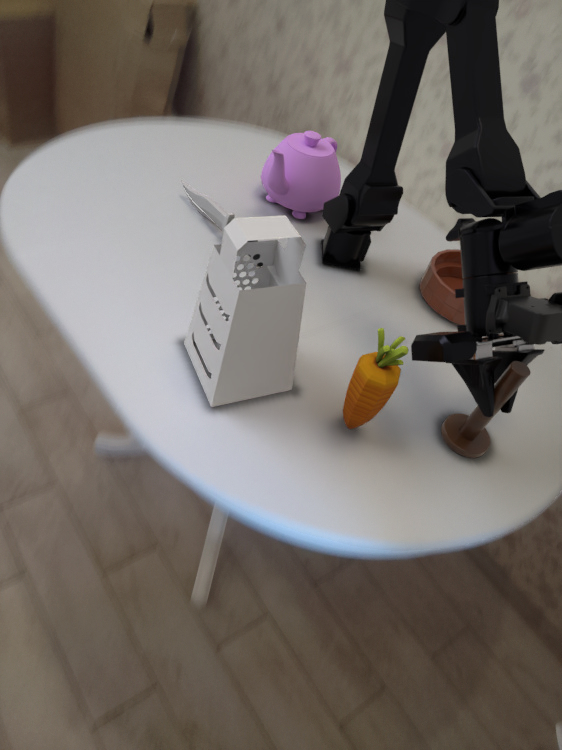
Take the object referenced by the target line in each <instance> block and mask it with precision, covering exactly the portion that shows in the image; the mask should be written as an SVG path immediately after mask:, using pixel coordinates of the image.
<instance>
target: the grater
mask: <svg viewBox="0 0 562 750" xmlns="http://www.w3.org/2000/svg"><path fill="white" fill-rule="evenodd" d="M278 239H286V243H285V246H284V247H283V246H282V244H281V243H280V241H279V240H278ZM253 240H258V241H256V242H247V241H253ZM306 248H307V243H306V242H305V241H304V238H303V237H302V236H301V235H300V233H299V232H298V230H297V229H296V228H295V226H294V225H293V223H292V222H291V220H290V219H289V218H288V217H287V215H268V216H251V217H248V216H247V217H235V218H234V219H233V220H232V221H231V222H230V223H229V224H227V225H226V226H225V227H224V231H223V234H222V238H221V243H219V244H213V246H212V248H211V249H212V250H211V253H210V255H209V259H208V262H207V266H206V268H205V269H206V270H205V273H204V276H203V279H202V283H201V284H200V285H201V286H200V290H199V292H198V295H197V299H196V302H195V306H194V308H193V312H192V316H191V319H190V321H189V325H188V329H187V332H186V335H185V338H184V341H183V344H184V347H185V349H186V351H187V354H188V356H189V358H190V361H191V363H192V366H193V368H194V371H195V372H196V375H197V378H198V379H199V382H200V384H201V387H202V390H203V392H204V395H205V396H206V398H207V401H208V403H209V406H210V407H211V408H214V407H218V406H219V407H220V406H223V405H228V404H233V403H238V402H242V401H247V400H251V399H256V398H260V397H265V396H270V395H274V394H280V393H284V392H288V391H292V390H293V384H294V377H295V370H296V363H297V356H298V355H297V354H298V347H299V340H300V334H301V326H302V318H303V312H304V303H305V296H306V289H307V281H306V280H305V278H304V277H303V275H302V273H301V272H300V270H301V266H302V262H303V260H304V259H303V258H304V255H305V252H306ZM256 254H259V255H260V258H259V259H258V260H254V259H253V256H254V255H256ZM249 255H250V256H251V257H250V256H249ZM246 256H249V257H250V258H249V259H248V260H245V259H244V258H245V257H246ZM237 257H240V259H239V260H238V261H237ZM260 262H262V263H263V266H262V267H258V266H257V264H258V263H260ZM250 264H253V266H252V267H251V268H248V265H250ZM240 265H243V268H242V269H238V267H239V266H240ZM252 272H255V273H254V274H253V275H249V274H250V273H252ZM242 273H245V275H244V276H240V274H242ZM234 274H236V276H234ZM254 279H257V280H258V281H257V282H255V283H253V282H252V281H253V280H254ZM246 280H248V281H249V282H248V283H246V284H244V281H246ZM236 281H239V284H237V283H236ZM247 287H250V288H249V289H246V288H247ZM240 288H241V290H240ZM214 298H216V299H217V301H216V300H215V299H214ZM217 304H218V305H220V306H218V305H217ZM221 311H223V313H221ZM224 317H225V318H224ZM207 326H208V327H209V328H208V327H207ZM210 332H211V333H210ZM213 339H214V340H215V342H216V343H217V344H220V346H219V349H218V347H216V345H215V343H214V341H213ZM194 342H195V345H196V347H197V349H198V351H197V349H196V347H195V345H194ZM198 352H199V354H200V356H201V358H202V360H203V363H204V365H205V367H206V369H207V371H208V373H211V377H209V376H208V374H207V372H206V370H205V367H204V365H203V363H202V361H201V359H200V356H199V354H198Z"/></svg>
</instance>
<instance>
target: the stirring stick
mask: <svg viewBox="0 0 562 750" xmlns="http://www.w3.org/2000/svg"><path fill="white" fill-rule="evenodd" d="M531 373H532V372H531V369H530V367H529V365H525V364H524V363H522V362H519V361H513V362H512V363H511V364H510V365H509V366H508V368H507V369H506V370H505V371H504V373H503V374H502V375H501V376H500V378H499V379H498V380H497V381H496V383H495V384H494V415H493V417H485V416H484V415H483V413H482V412H481V410H480V408H479V406H478V405H477V404H476V406H475V408H474V409H473V410H472V411H471V413H470V414H469V415H468V414H466V413H465V414H464V413H453V414H450V415H448V416H447V417H446V418H445V420H444V421H443V423H442V424H441V427H440V433H441V437H442V440H443V441H444V442H445V444H446V445H447V446H448V447H449V448H450V449H451V450H452V451H453V452H455V453H456V454H458V455H459V456H462V457H465V458H469V459H471V458H472V459H474V458H479V457H482V456H483V455H484V454H485V453H486V452H487V451H488V450H489V449H490V446H491V436H490V433H489V432H488V430H487V429H486V426H487V425H489V423H490V422H491V421H492V420H493V419H494V417H495V416H496V415H498V412H500V411H501V408H502V407H503V405H504V404H505V403H506V402H507V401H508V400H509V399H510V397H511V396H512V395H513V394H514V393H515V392H516V390H517V389H518V390H519V388H520V387H521V386H522V385H523V384H524V382H525V381H526V380H527V379H528V378H529V377H530V376H531Z"/></svg>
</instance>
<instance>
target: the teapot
mask: <svg viewBox="0 0 562 750" xmlns="http://www.w3.org/2000/svg"><path fill="white" fill-rule="evenodd" d="M337 151H338V141H336V139H334V138H333V137H330V136H327V137H324V138H322V135H321V134H320V133H318V132H317V131H313V130H305V131H304V132H294V133H290V134H288V135H287V136H285V137H284V138H283V139H282V140H281V141H280V142H279V143H278V145H276V146H275V147H274V148H273V149H271V152H270V153H269V155H268V156H267V157H266V160H265V162H264V164H263V167H262V169H261V174H260V179H261V184H262V186H263V188H264V190H265V192H266V193H267V195H266V196H265V198H266V201H268V202H270V203H274V204H276V203H277V204H279V205H280V206H282V207H284V208H286V209H288V210H292V212H291V215H292V217H294V218H295V219H299V220H305V219H306V218H307V213H315V212H320V211H323V206H324V203H325V202H327V201H329V200H331V199H333V198H335V197H337V196H339V194H340V191H341V187H342V175H341V167H340V164H339V160H338V156H337Z"/></svg>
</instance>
